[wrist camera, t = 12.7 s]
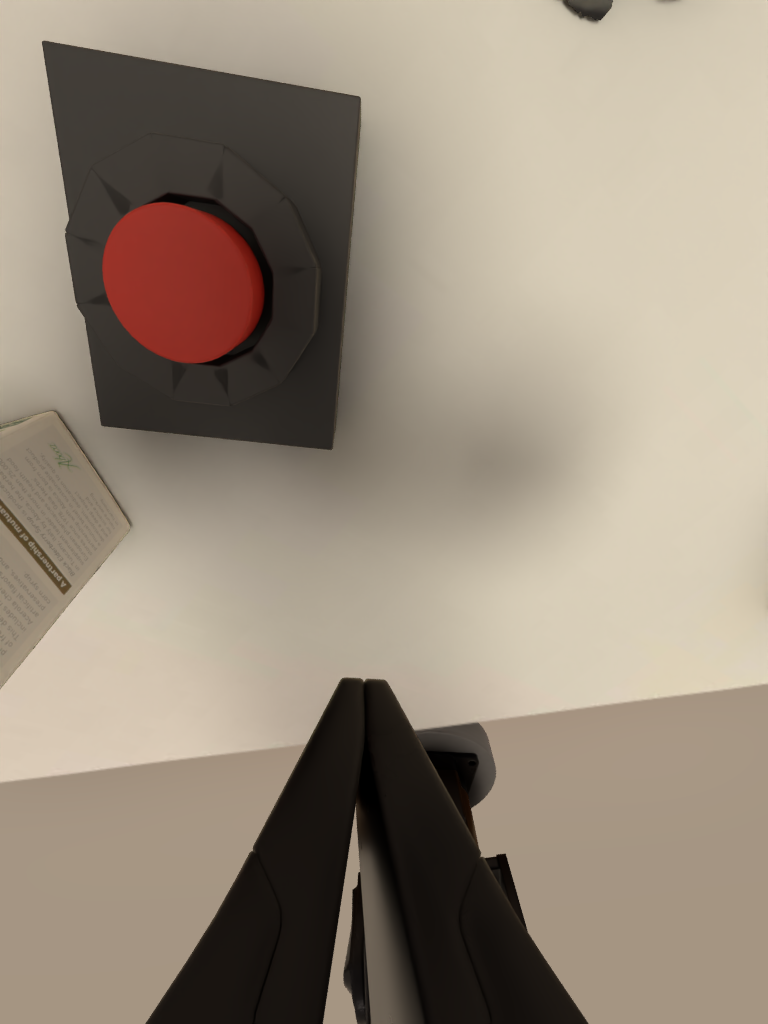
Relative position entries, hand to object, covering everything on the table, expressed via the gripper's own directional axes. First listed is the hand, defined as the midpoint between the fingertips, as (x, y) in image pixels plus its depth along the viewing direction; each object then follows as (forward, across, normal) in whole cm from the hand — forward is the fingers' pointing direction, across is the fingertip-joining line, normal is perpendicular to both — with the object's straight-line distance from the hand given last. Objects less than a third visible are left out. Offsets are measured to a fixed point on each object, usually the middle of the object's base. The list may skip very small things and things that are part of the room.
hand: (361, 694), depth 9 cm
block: (+12, +5, -6) cm, 15 cm away
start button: (+9, +5, -6) cm, 12 cm away
